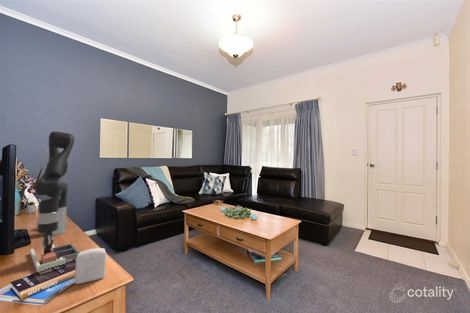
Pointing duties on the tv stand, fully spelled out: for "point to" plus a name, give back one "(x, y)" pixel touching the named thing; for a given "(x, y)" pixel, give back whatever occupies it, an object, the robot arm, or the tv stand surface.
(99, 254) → the photo printer
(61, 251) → the box
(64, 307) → the tv stand surface
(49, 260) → the red block
